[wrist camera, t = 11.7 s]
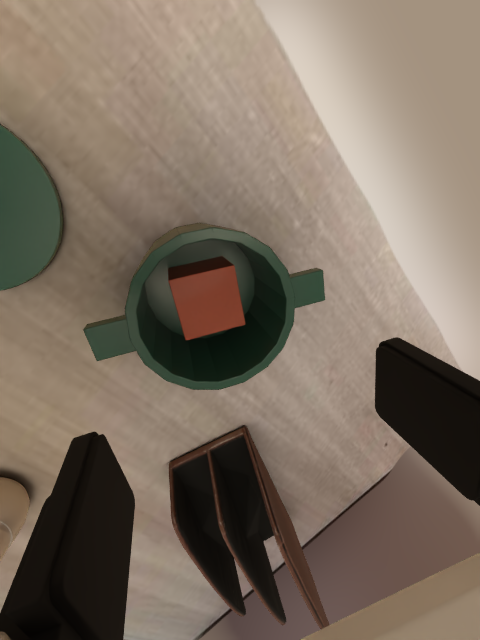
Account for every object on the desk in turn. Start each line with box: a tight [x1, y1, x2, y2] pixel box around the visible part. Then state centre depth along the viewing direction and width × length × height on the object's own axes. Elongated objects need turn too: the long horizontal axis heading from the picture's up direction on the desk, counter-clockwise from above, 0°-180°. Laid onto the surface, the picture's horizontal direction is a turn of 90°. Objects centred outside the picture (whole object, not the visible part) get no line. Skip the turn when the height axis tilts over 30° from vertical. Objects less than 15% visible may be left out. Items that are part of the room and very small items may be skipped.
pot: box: [83, 223, 325, 390], centre depth 23 cm, size 11×17×8 cm
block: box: [168, 256, 245, 340], centre depth 24 cm, size 5×5×5 cm
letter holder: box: [169, 426, 329, 629], centre depth 31 cm, size 10×20×14 cm, turn 21°
